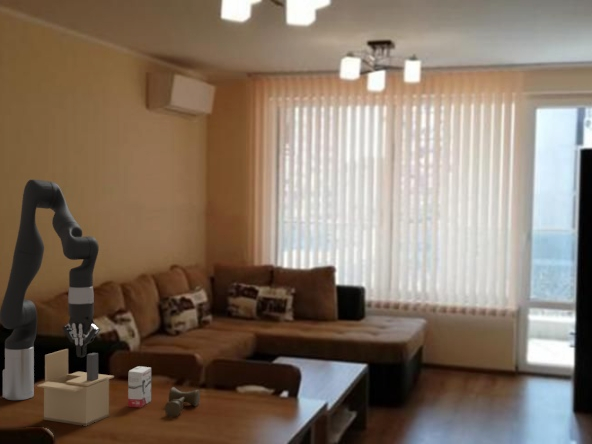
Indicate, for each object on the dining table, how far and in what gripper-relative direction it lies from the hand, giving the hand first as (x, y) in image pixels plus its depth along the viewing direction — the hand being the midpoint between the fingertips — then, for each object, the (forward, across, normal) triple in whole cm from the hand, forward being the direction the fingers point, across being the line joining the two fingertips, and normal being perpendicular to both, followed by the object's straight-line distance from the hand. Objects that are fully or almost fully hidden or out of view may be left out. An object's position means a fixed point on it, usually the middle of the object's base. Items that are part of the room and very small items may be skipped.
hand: (81, 356), depth 226 cm
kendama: (+20, +22, +23) cm, 37 cm away
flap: (+7, +2, 0) cm, 8 cm away
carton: (+19, -2, 0) cm, 19 cm away
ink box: (+20, +7, +21) cm, 30 cm away
